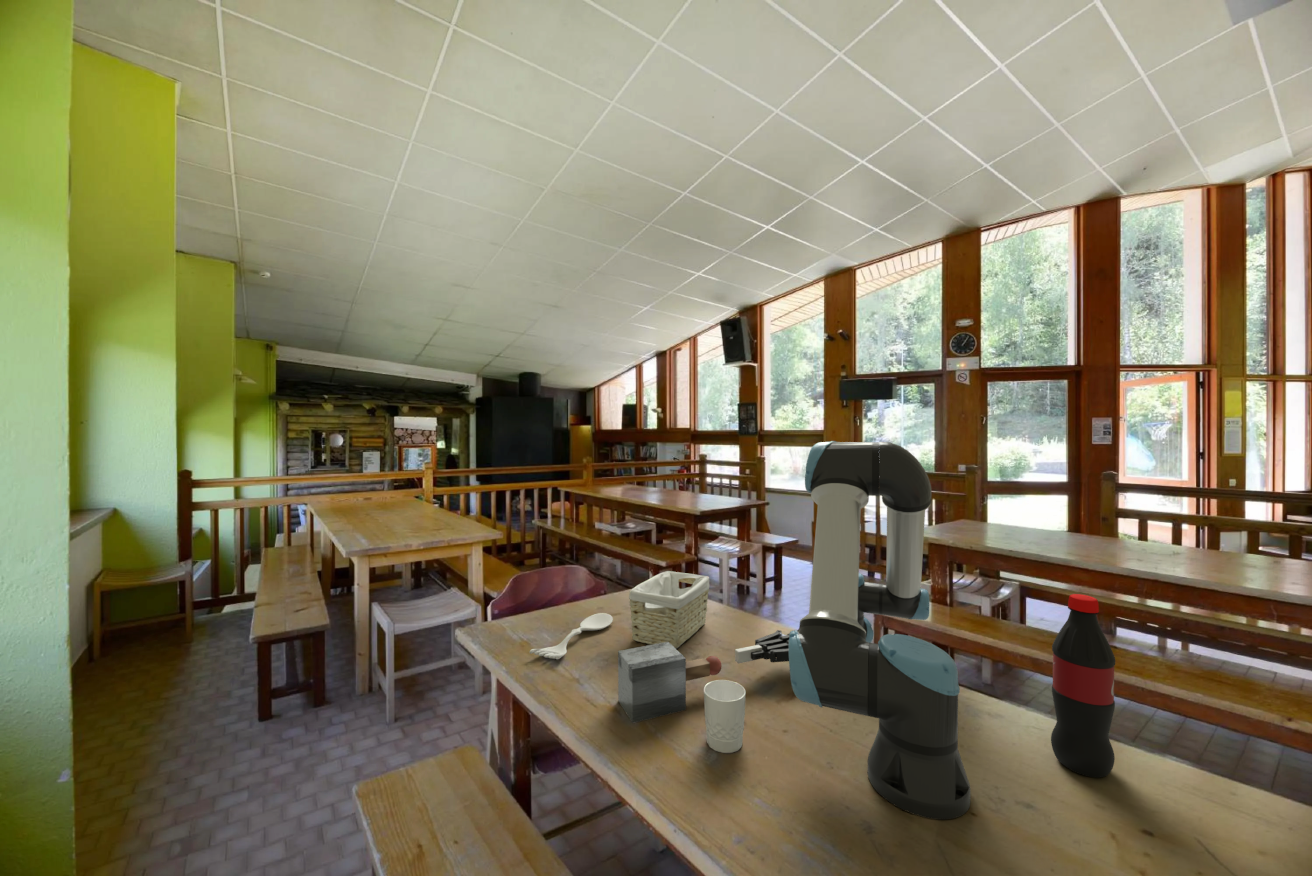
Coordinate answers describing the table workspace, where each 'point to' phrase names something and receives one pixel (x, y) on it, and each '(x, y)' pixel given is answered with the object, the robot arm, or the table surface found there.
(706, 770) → the table surface
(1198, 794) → the table surface
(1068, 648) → the cola bottle
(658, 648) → the block
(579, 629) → the white plastic spork
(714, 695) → the white cup
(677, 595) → the storage basket
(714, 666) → the plunger
